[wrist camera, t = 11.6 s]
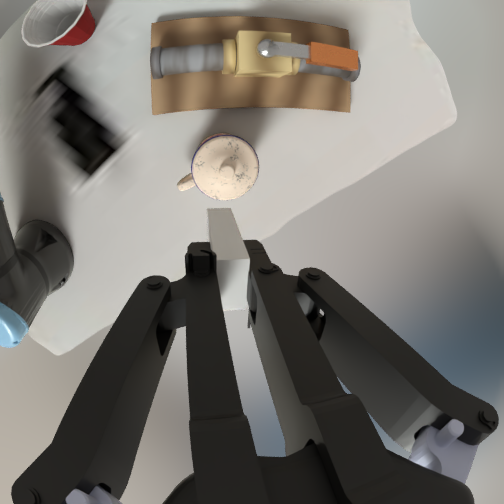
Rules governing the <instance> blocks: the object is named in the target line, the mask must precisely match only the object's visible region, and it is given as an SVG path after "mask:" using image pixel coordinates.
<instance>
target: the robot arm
mask: <svg viewBox="0 0 504 504" xmlns="http://www.w3.org/2000/svg"><path fill="white" fill-rule="evenodd" d="M3 202H4V200H3V198H2V197H1V193H0V346H2V347H8V348H9V347H10V348H11V347H15V346H17V345H18V344H19V343H20V342H21V340H22V338H23V337H24V335H25V334H26V333H27V332H28V330H29V327H30V325H31V324H32V322H33V320H34V318H35V316H36V314H37V313H38V311H39V309H40V308H41V306H42V304H43V302H44V301H45V299H46V298H47V296H48V295H50V294H52V293H53V292H55V291H56V290H58V289H60V288H61V287H62V286H63V285H64V284H65V283H66V282H67V280H68V279H69V277H70V276H71V273H72V270H73V255H72V251H71V248H70V246H69V244H68V242H67V240H66V239H65V237H64V236H63V234H62V233H61V232H60V231H59V230H58V229H57V228H56V227H54V226H53V225H51V224H49V223H47V222H45V221H40V220H34V221H31V222H28V223H27V224H26V225H24V226H23V227H22V228H21V229H20V230H19V231H18V232H17V234H16V236H15V238H14V240H13V237H12V233H11V230H10V227H9V223H8V220H7V216H6V212H5V209H4V205H3ZM185 267H186V275H185V276H184V277H183V278H182V279H180V280H178V281H175V282H170V281H169V280H168V279H167V278H166V277H163V276H149V277H147V278H145V279H143V280H142V281H141V282H140V283H139V285H138V286H137V288H136V289H135V291H134V292H133V294H132V295H131V297H130V298H129V300H128V302H127V303H126V305H125V306H124V308H123V310H122V311H121V313H120V314H119V316H118V318H117V319H116V321H115V323H114V324H113V326H112V328H111V329H110V331H109V333H108V334H107V336H106V338H105V339H104V341H103V343H102V345H101V346H100V348H99V350H98V351H97V353H96V355H95V357H94V359H93V360H92V362H91V364H90V366H89V368H88V369H87V371H86V373H85V375H84V377H83V379H82V381H81V383H80V384H79V386H78V388H77V390H76V392H75V394H74V396H73V398H72V400H71V402H70V404H69V406H68V408H67V410H66V413H65V414H64V417H63V419H62V421H61V423H60V425H59V427H58V430H57V432H56V434H55V436H54V439H53V441H52V443H51V444H50V445H49V446H48V447H47V448H46V450H45V451H44V452H43V453H42V454H41V455H40V456H39V457H38V458H37V459H36V460H35V461H34V462H33V463H32V464H31V465H30V466H29V467H28V468H27V469H26V470H25V471H24V473H22V474H21V476H20V477H19V478H18V479H17V480H16V481H15V483H14V484H13V486H12V492H11V495H12V500H13V503H14V504H122V503H121V502H120V501H119V500H120V498H121V496H122V494H123V492H124V490H125V488H126V486H127V484H128V480H129V478H130V475H131V471H132V468H133V464H134V461H135V457H136V454H137V450H138V447H139V443H140V440H141V437H142V433H143V430H144V427H145V424H146V420H147V417H148V414H149V411H150V408H151V405H152V402H153V399H154V395H155V392H156V389H157V386H158V383H159V380H160V377H161V374H162V371H163V369H164V365H165V363H166V360H167V357H168V354H169V351H170V349H171V346H172V343H173V340H174V337H175V335H176V329H177V328H180V327H184V326H186V350H187V374H188V392H189V407H190V421H189V430H190V441H191V451H192V460H193V468H194V473H192V474H191V475H189V476H188V477H186V478H185V479H184V480H182V481H181V482H180V483H179V484H178V485H177V486H176V487H175V489H174V490H173V491H172V492H171V494H170V495H169V496H168V497H167V499H166V500H165V501H164V502H163V504H474V498H473V495H472V492H471V491H470V489H469V488H468V487H467V486H466V485H465V482H466V479H467V477H468V474H469V472H470V469H471V466H472V463H473V460H474V457H475V454H476V451H477V447H478V445H479V444H480V443H481V442H482V441H483V440H484V439H485V438H487V437H488V436H489V435H490V434H491V433H492V432H494V430H495V429H496V428H497V426H498V414H497V411H496V410H495V409H494V407H493V406H492V405H490V404H489V403H486V402H485V401H483V400H481V399H479V398H477V397H475V396H473V395H471V394H469V393H467V392H466V391H463V390H462V389H459V388H458V387H456V386H454V385H452V384H451V383H450V382H449V381H448V380H447V379H445V378H444V377H443V376H442V375H441V374H440V373H439V372H438V371H437V370H436V369H435V368H434V367H433V366H431V365H430V364H429V363H428V362H427V361H426V360H425V359H424V358H423V357H422V356H420V355H419V354H418V353H417V352H416V351H415V350H414V349H413V348H412V347H411V346H409V345H408V344H407V343H406V342H405V341H404V340H403V339H402V338H400V337H399V336H398V335H397V334H396V333H395V332H394V331H393V330H391V329H390V328H389V327H388V326H387V325H386V324H385V323H383V322H382V321H381V320H380V319H379V318H378V317H376V316H375V315H374V314H373V313H372V312H371V311H370V310H369V309H367V308H366V307H365V306H364V305H363V304H362V303H360V302H359V301H358V300H357V299H356V298H355V297H353V296H352V295H351V294H350V293H349V292H348V291H346V290H345V289H344V288H343V287H342V286H340V285H339V284H338V283H337V282H336V281H335V280H333V279H332V278H331V277H330V276H329V275H327V274H326V273H325V272H323V271H322V270H319V269H317V268H311V267H310V268H304V269H301V270H300V272H299V276H293V275H286V274H283V272H282V270H281V269H280V268H279V266H277V265H275V264H273V263H271V261H270V259H269V257H268V255H267V254H266V251H265V249H264V247H263V245H262V244H261V243H260V242H259V241H257V240H243V239H242V237H241V234H240V231H239V229H238V226H237V223H236V221H235V218H234V215H233V213H232V210H231V208H214V209H207V242H192V243H191V244H190V245H189V246H188V251H187V253H186V255H185ZM247 301H248V305H249V316H248V328H250V324H251V327H252V330H253V334H254V337H255V340H256V344H257V348H258V351H259V355H260V358H261V362H262V365H263V369H264V372H265V375H266V379H267V382H268V386H269V389H270V392H271V396H272V399H273V403H274V406H275V409H276V412H277V416H278V419H279V422H280V426H281V429H282V432H283V436H284V439H285V452H286V457H264V456H257V454H256V450H255V446H254V442H253V438H252V434H251V429H250V425H249V422H248V419H247V416H245V415H244V413H243V409H242V404H241V400H240V395H239V390H238V386H237V381H236V376H235V371H234V366H233V361H232V356H231V351H230V346H229V341H228V335H227V329H226V324H225V318H224V313H223V311H228V310H243V309H247ZM320 309H321V310H322V311H323V312H324V316H323V315H321V314H320V313H319V312H320ZM337 377H338V378H339V379H340V380H341V382H342V383H343V384H344V385H345V386H346V387H347V389H348V390H349V391H350V392H351V393H352V394H347V393H345V391H344V390H343V388H342V386H341V384H340V382H339V381H338V378H337ZM367 412H368V413H369V414H370V415H371V416H372V417H373V419H374V420H375V421H376V422H377V423H378V424H379V425H380V427H382V429H383V430H384V431H385V432H386V433H387V434H388V435H389V436H390V437H391V438H392V439H393V440H394V441H395V442H396V443H397V444H398V445H400V446H401V447H402V448H403V449H405V450H407V451H408V452H410V453H411V455H410V457H409V459H406V458H404V457H402V456H400V455H397V454H395V453H393V452H391V451H389V450H387V449H386V448H385V446H384V444H383V442H382V440H381V438H380V436H379V434H378V432H377V430H376V429H375V426H374V424H373V422H372V421H371V419H370V417H369V415H368V413H367Z"/></svg>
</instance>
